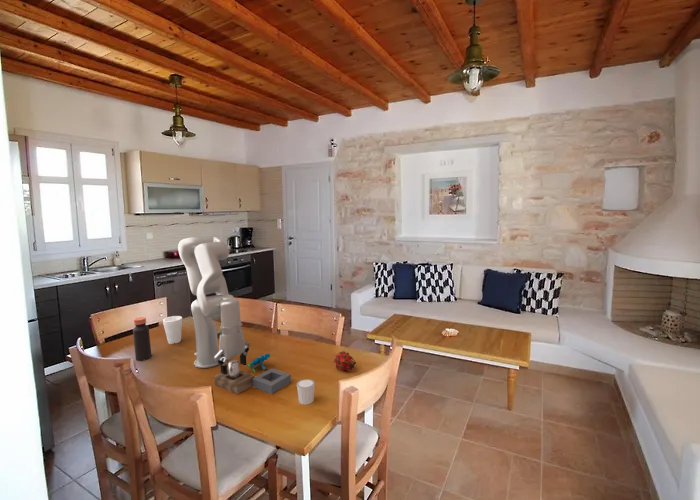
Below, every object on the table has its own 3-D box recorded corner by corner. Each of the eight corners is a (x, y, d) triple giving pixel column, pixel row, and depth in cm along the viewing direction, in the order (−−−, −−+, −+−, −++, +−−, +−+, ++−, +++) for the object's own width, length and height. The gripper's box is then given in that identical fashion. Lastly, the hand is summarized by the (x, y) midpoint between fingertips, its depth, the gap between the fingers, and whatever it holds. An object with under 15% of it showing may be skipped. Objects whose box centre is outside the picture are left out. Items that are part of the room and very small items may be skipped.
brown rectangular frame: (215, 384, 151) (214, 375, 151) (232, 376, 159) (232, 367, 158) (237, 394, 144) (236, 385, 143) (254, 384, 151) (254, 375, 150)
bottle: (132, 359, 177) (128, 319, 174) (146, 354, 183) (142, 315, 180) (141, 361, 174) (137, 321, 171) (154, 356, 180) (150, 317, 177)
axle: (227, 385, 151) (226, 362, 149) (235, 381, 154) (234, 359, 153) (234, 388, 148) (232, 365, 147) (241, 384, 152) (240, 361, 150)
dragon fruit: (337, 366, 170) (353, 380, 160) (325, 361, 164) (341, 374, 155) (347, 350, 171) (363, 363, 162) (336, 344, 165) (351, 357, 156)
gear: (266, 358, 173) (271, 349, 166) (272, 369, 170) (277, 360, 163) (244, 368, 166) (248, 359, 159) (250, 379, 164) (254, 371, 157)
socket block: (252, 386, 149) (252, 378, 149) (272, 375, 158) (271, 368, 158) (271, 394, 143) (271, 385, 143) (290, 382, 152) (290, 374, 152)
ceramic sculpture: (239, 316, 213) (229, 326, 199) (240, 329, 215) (231, 341, 200) (221, 316, 214) (210, 326, 199) (223, 329, 216) (212, 341, 201)
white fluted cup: (315, 395, 142) (315, 378, 141) (314, 405, 135) (314, 387, 134) (298, 395, 142) (297, 379, 141) (296, 405, 135) (295, 388, 134)
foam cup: (171, 346, 193) (169, 322, 191) (161, 343, 197) (159, 320, 195) (187, 340, 201) (185, 317, 199) (177, 337, 205) (175, 315, 204)
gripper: (242, 321, 157) (244, 359, 159) (207, 334, 143) (210, 375, 145) (254, 324, 153) (256, 363, 155) (219, 337, 139) (222, 380, 141)
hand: (234, 368), depth 150 cm, fingers open, 9 cm apart
